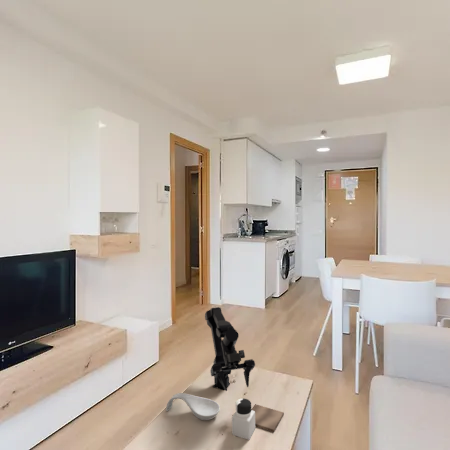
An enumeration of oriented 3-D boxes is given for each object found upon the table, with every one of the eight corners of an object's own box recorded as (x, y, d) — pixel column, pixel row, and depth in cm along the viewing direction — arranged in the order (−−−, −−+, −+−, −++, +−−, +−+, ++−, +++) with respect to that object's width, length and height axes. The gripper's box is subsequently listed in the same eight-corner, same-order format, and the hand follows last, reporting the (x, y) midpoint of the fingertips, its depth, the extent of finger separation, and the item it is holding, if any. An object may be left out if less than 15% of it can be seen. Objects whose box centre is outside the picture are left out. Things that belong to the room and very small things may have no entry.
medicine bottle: (255, 428, 125) (255, 398, 125) (249, 440, 119) (248, 408, 118) (238, 423, 128) (238, 394, 128) (231, 435, 122) (231, 404, 121)
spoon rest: (223, 409, 138) (223, 393, 138) (214, 427, 127) (214, 409, 127) (173, 401, 145) (173, 386, 145) (161, 417, 134) (161, 400, 133)
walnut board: (243, 422, 129) (243, 419, 129) (255, 406, 140) (255, 404, 140) (274, 432, 123) (274, 429, 123) (283, 414, 133) (283, 412, 133)
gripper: (211, 346, 133) (218, 385, 122) (253, 340, 138) (263, 378, 127) (207, 357, 140) (214, 395, 130) (247, 351, 145) (256, 387, 135)
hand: (237, 388), depth 130 cm, fingers open, 9 cm apart
